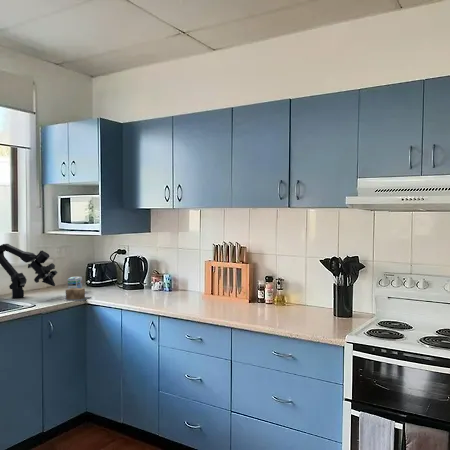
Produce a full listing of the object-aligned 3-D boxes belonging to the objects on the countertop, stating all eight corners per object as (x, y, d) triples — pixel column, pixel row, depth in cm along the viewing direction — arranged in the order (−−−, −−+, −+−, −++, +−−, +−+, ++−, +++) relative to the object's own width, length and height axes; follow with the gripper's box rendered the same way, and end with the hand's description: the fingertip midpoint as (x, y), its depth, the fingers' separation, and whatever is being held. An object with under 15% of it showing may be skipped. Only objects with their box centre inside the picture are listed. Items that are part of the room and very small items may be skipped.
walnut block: (65, 289, 290) (80, 290, 288) (70, 288, 296) (84, 288, 294) (65, 299, 290) (80, 299, 288) (70, 297, 296) (84, 297, 294)
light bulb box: (77, 294, 309) (77, 278, 309) (67, 294, 309) (67, 278, 309) (82, 291, 320) (82, 276, 319) (73, 291, 320) (72, 276, 320)
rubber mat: (64, 300, 287) (64, 300, 287) (74, 297, 299) (74, 296, 299) (82, 301, 285) (82, 300, 285) (91, 297, 296) (91, 296, 296)
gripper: (38, 261, 286) (54, 279, 284) (54, 258, 304) (70, 275, 302) (27, 273, 287) (43, 291, 286) (44, 269, 306) (59, 286, 304)
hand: (54, 285), depth 294 cm, fingers closed
